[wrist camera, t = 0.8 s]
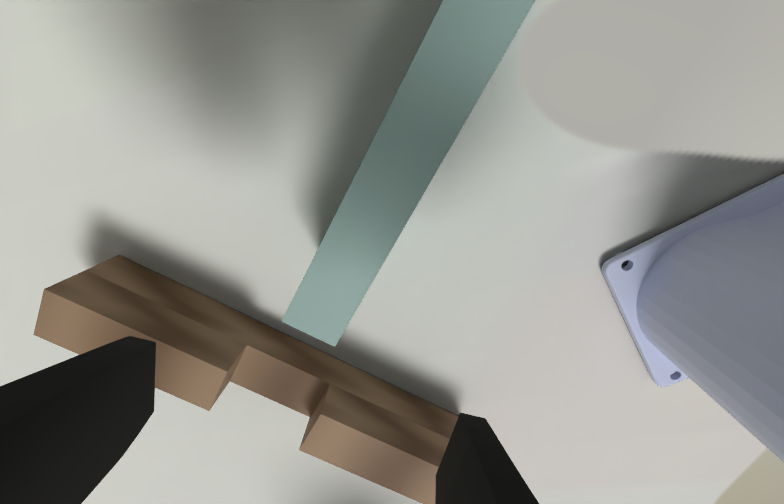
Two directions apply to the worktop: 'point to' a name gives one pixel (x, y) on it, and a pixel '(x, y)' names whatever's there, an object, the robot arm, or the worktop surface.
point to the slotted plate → (404, 158)
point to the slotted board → (253, 371)
